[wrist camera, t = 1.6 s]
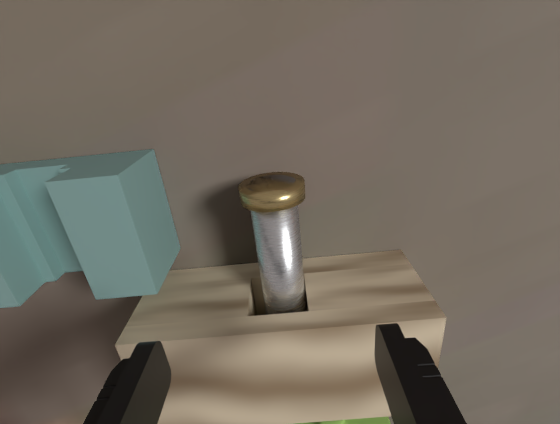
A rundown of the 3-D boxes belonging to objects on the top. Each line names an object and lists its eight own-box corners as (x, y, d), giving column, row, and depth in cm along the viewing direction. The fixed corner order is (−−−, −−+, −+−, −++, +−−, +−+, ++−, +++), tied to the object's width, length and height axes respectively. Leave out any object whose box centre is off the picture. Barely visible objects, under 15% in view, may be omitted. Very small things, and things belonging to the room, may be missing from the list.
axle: (233, 179, 21) (245, 201, 17) (291, 168, 21) (314, 187, 18) (265, 370, 28) (278, 412, 25) (307, 356, 29) (325, 395, 26)
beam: (156, 271, 26) (114, 345, 19) (400, 249, 26) (446, 317, 19) (181, 349, 30) (153, 434, 23) (394, 332, 29) (430, 413, 23)
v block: (-30, 167, 22) (-119, 198, 17) (153, 149, 22) (117, 174, 17) (21, 262, 26) (-41, 311, 21) (180, 248, 25) (157, 294, 20)
